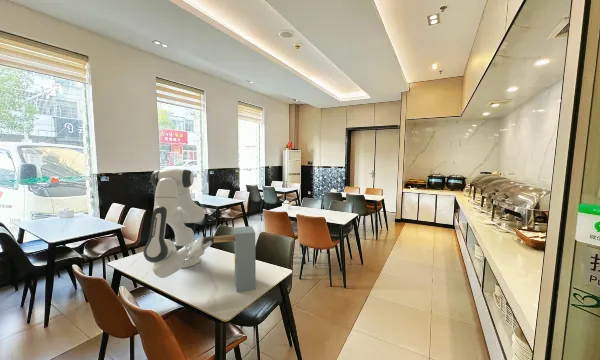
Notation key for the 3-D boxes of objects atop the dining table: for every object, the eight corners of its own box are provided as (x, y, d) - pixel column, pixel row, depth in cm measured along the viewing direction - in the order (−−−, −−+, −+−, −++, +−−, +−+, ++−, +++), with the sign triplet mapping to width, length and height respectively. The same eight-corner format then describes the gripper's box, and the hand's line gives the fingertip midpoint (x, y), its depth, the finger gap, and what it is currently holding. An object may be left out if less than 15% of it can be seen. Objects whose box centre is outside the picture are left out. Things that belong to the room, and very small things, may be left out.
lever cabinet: (233, 280, 140) (233, 227, 138) (252, 278, 144) (251, 226, 141) (235, 292, 128) (234, 234, 126) (255, 289, 131) (255, 232, 129)
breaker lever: (203, 242, 129) (203, 237, 129) (235, 239, 134) (234, 234, 134) (203, 244, 126) (203, 238, 126) (235, 241, 131) (235, 236, 131)
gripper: (180, 257, 115) (207, 240, 118) (186, 243, 134) (209, 229, 137) (188, 267, 116) (214, 250, 119) (192, 252, 135) (215, 238, 139)
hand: (211, 239), depth 128 cm, fingers open, 7 cm apart
